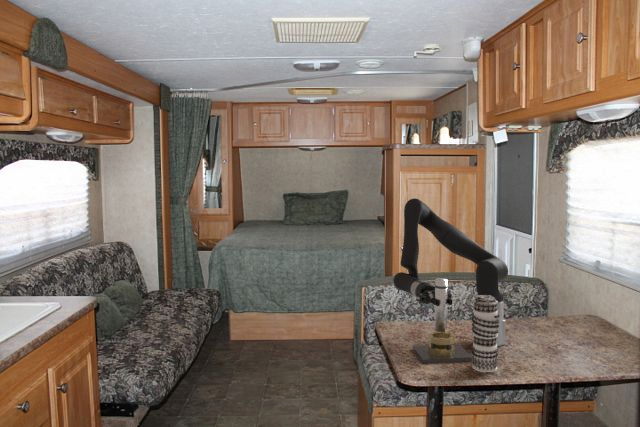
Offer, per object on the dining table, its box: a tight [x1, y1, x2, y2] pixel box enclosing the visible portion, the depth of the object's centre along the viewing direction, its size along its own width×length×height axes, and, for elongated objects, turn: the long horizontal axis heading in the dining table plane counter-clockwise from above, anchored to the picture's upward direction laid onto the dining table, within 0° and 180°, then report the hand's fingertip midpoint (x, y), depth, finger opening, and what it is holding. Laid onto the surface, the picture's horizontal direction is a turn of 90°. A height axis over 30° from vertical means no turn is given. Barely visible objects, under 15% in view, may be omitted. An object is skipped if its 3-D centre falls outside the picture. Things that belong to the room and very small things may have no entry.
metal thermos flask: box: [434, 277, 449, 332], centre depth 184 cm, size 4×4×19 cm
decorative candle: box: [470, 295, 500, 373], centre depth 173 cm, size 9×9×25 cm
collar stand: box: [411, 331, 473, 365], centre depth 186 cm, size 18×14×8 cm
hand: (444, 302), depth 182 cm, fingers closed on metal thermos flask, 4 cm apart
